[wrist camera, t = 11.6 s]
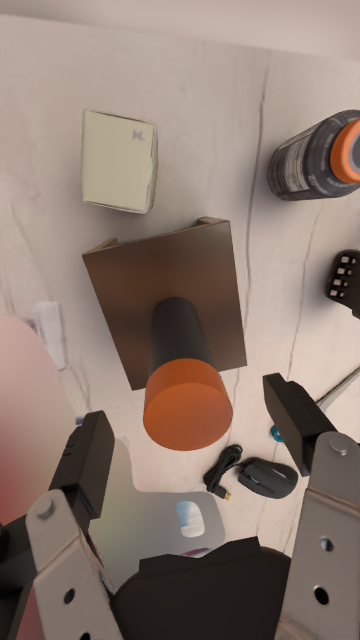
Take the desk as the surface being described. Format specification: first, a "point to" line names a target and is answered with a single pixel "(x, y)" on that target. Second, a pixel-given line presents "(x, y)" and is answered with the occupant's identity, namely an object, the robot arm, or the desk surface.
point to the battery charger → (346, 281)
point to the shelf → (169, 291)
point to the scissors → (325, 400)
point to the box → (118, 161)
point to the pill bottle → (319, 160)
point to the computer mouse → (253, 476)
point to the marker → (183, 382)
